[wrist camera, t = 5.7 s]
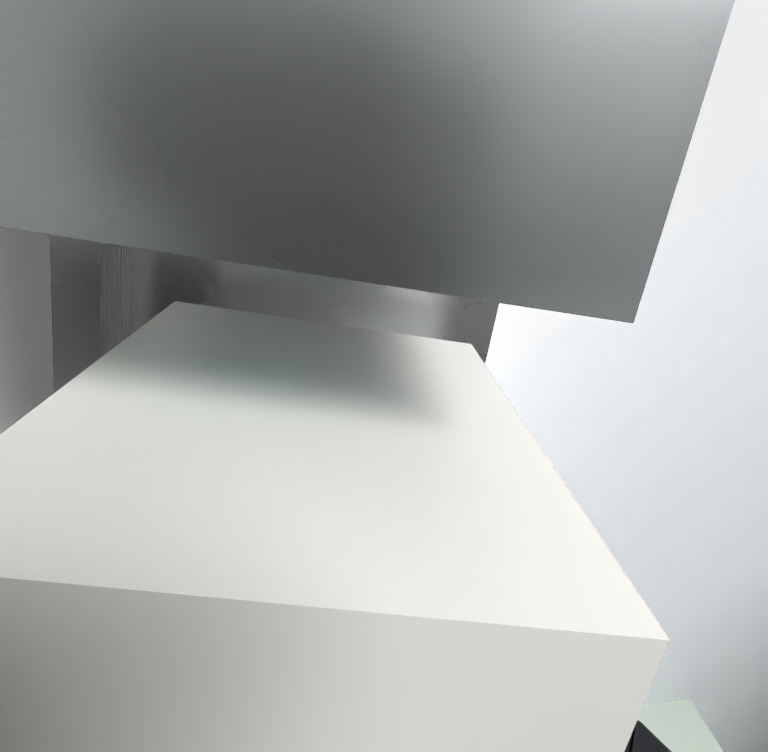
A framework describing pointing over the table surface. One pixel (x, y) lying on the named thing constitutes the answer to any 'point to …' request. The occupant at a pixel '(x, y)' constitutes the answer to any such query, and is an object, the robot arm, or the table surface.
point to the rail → (346, 157)
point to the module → (303, 556)
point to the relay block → (679, 726)
